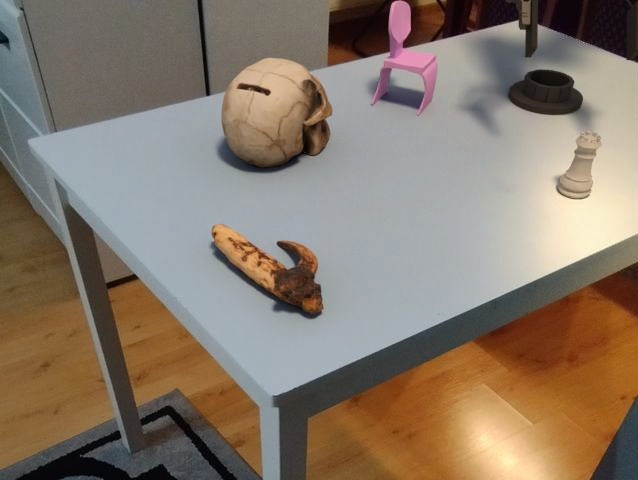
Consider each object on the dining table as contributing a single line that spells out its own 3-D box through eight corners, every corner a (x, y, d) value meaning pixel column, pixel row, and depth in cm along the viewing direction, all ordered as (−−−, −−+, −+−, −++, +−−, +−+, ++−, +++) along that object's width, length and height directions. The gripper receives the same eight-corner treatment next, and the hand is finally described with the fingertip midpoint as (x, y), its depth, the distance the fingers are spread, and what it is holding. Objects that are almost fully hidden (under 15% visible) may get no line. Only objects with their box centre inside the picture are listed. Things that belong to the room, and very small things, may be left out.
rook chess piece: (571, 179, 94) (588, 124, 89) (597, 193, 92) (616, 138, 86) (549, 188, 92) (565, 132, 87) (575, 203, 90) (593, 146, 84)
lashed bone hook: (360, 297, 75) (258, 225, 84) (365, 262, 72) (258, 192, 81) (296, 332, 70) (195, 251, 79) (298, 296, 67) (193, 217, 76)
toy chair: (419, 118, 108) (432, 17, 97) (368, 107, 110) (375, 7, 100) (436, 99, 113) (450, 1, 103) (387, 88, 116) (395, -8, 105)
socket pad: (570, 85, 118) (576, 65, 116) (590, 115, 110) (596, 94, 107) (502, 84, 118) (506, 63, 116) (515, 113, 110) (520, 92, 107)
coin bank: (326, 117, 107) (327, 31, 96) (340, 183, 95) (341, 94, 85) (226, 123, 106) (216, 37, 95) (227, 191, 94) (216, 102, 84)
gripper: (663, -83, 94) (662, 69, 94) (484, -88, 94) (481, 64, 93) (694, -122, 87) (692, 43, 86) (498, -127, 87) (495, 37, 86)
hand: (582, 54), depth 90 cm, fingers open, 13 cm apart
